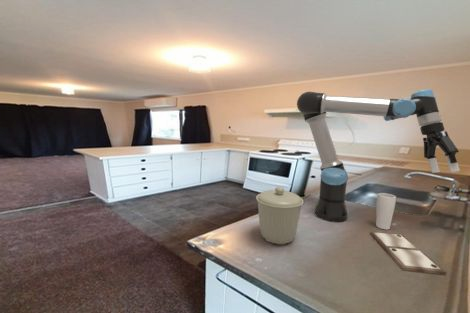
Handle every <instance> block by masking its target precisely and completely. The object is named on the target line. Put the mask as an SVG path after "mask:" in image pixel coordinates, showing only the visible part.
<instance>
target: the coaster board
mask: <svg viewBox="0 0 470 313" xmlns="http://www.w3.org/2000/svg"><path fill="white" fill-rule="evenodd" d="M369 235H370V236H371V237H372V238H373V239H374V240H375V242H377V244H378V245H379V246H380V247H381V248H382V249H383V250H384V251H385V252H386V253H387V255H388V256H389V257H390V258H391V259H392V260H393V261H394V262H395V264H396V265H397V266H398V267H399V269H401V270H402V271H405V272H415V273H425V274H432V273H435V275H441V274H446V275H447V271H446V270H445V269H444V268H442V266H440V265H439V264H438V263H436V262H435V261H434V260H433V259H431V258H430V256H428V255H427V254H426V253H424V252H423V251H422V250H421V249H420V248H418V247H417V245H415V244H414V243H413V242H411V241H410V240H409V239H408V238H406V237H405V235H403V234H397V233H395V234H394V233H385V232H375V231H374V232H372V231H370V232H369Z"/></svg>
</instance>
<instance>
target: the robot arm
mask: <svg viewBox="0 0 470 313" xmlns="http://www.w3.org/2000/svg"><path fill="white" fill-rule="evenodd" d="M436 99H437V98H436V96H435V94H434V91H433V90H432V89H430V88H426V89H420V90H418V91H415V92H413V93H411V95H410V98H384V97H381V98H380V97H363V96H362V97H361V96H344V95H342V96H341V95H340V96H339V95H328V94H326V92H317V91H316V92H315V91H306V92H303V93H302V94H300V96H299V97H298V99H297V101H296V106H297V109H298V111H299V112H300V113H301V114H302V116H303V119H304V121H305V123H307V124H308V125H309V128H310V131H311V135H312V137H313V140H314V144H315V147H316V150H317V153H318V156H319V159H320V162H321V165H320V168H319V169H320V171H321V173H320V177H319V178H320V185H319V199H318V201H317V203H316V205H315V208H314V215H315V214H316V215H317V216H318V218H319V217H320V218H319V219H321V218H322V219H321V220H325V221H327V220H328V221H327V222H333V221H335V223H340V222H341V221H342V222H345V221H347V220H348V216H349V214H348V211H347V207H346V202H345V201H346V193H347V192H346V190H347V183H348V179H349V176H348V172H347V170H346V169H345V166H344V162H343V161H341V160H340V159H339V157H338V155H337V152H336V149H335V145H334V142H333V140H332V137H331V136H332V135H331V134H330V131H329V126H328V124H327V120H326V116H327V113H336V114H338V113H339V114H348V115H349V114H351V115H360V116H361V115H364V116H374V117H375V116H378V117H383V120H384V121H385V122H388V121H389V122H390V121H394V120H398V119H399V120H400V119H405V118H408V117H410V116H414V115H416V120H417V122H418V126H419V127H420V133H421V135H422V136H426V137H422V140H423V158H426V159H427V162H428V164H429V168H430V171H431V174H435V173H440V172H441V171H440V167H439V164H438V161H437V156H435V155H436V150H437V147H439V149H441V150H442V151H443V152H444V153H445V154H444V156H445V159H446V162H447V166H448V170H449V172H450V173H457V172H460V171H461V170H460V167H459V166H460V165H459V163H458V161H457V157H456V154H457V153H459V149H458V148H457V146H456V145H455V144H454V142H453V140H452V138H450V136H449V134H448V131H445V127H444V126H445V125H444V123H443V122H442V115H441V114H440V110H439V107H438V103H437V100H436ZM316 215H315V216H316ZM317 216H316V217H317Z"/></svg>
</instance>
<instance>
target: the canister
mask: <svg viewBox="0 0 470 313" xmlns="http://www.w3.org/2000/svg"><path fill="white" fill-rule="evenodd" d="M255 199H256V201H257V208H258V209H257V210H258V221H259V230H260V234H261V236H262V238H263V239H264V238H265V239H266V240H265V239H264V240H265V241H267V242H269V243H271V242H272V243H271V244H274V243H276V244H275V245H286V243H288V244H290V243H291V242H293V241H294V239H295V238H296V235H297V230H298V225H299V220H300V214H301V208H302V205H303V204H304V199H303V198H302V197H301V196H300V195H299V194H296V193H294V192H291V191H288V190H285V188H284V187H282V186H276V187H275V189H269V190H266V191H262V192H260V193H258V194H256V197H255ZM289 242H290V243H289Z"/></svg>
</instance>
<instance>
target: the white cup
mask: <svg viewBox="0 0 470 313" xmlns="http://www.w3.org/2000/svg"><path fill="white" fill-rule="evenodd" d="M396 200H397V196H396V195H394V194H391V193H386V192H379V193H377V196H376V204H375V205H376V209H375V210H376V213H375V214H376V215H375V216H376V217H375V220H376V221H375V226H376V227H377V228H378V229H381V230H387V231H388V230H390V228H391V225H392V221H393V215H394V212H395V207H396V202H397V201H396Z"/></svg>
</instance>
